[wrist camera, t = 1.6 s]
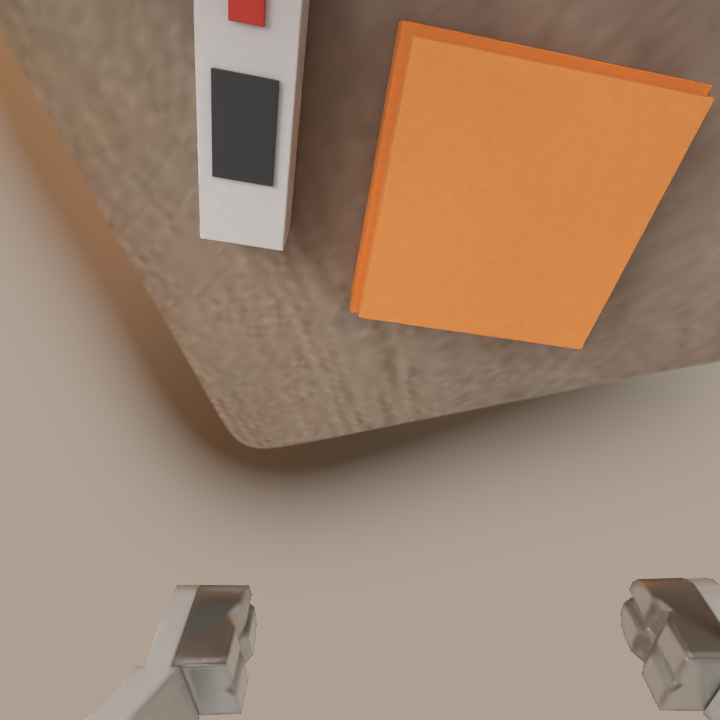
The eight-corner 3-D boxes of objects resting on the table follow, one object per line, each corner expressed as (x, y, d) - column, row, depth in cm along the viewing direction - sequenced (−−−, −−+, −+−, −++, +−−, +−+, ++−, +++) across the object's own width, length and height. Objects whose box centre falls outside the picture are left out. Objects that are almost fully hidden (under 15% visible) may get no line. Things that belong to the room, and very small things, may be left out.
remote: (212, -73, 22) (188, -88, 19) (314, -51, 23) (306, -62, 20) (215, 217, 30) (198, 240, 27) (290, 229, 31) (282, 253, 28)
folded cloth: (398, 19, 24) (405, 20, 21) (685, 79, 26) (731, 88, 23) (350, 294, 34) (349, 323, 30) (564, 326, 35) (585, 357, 32)
